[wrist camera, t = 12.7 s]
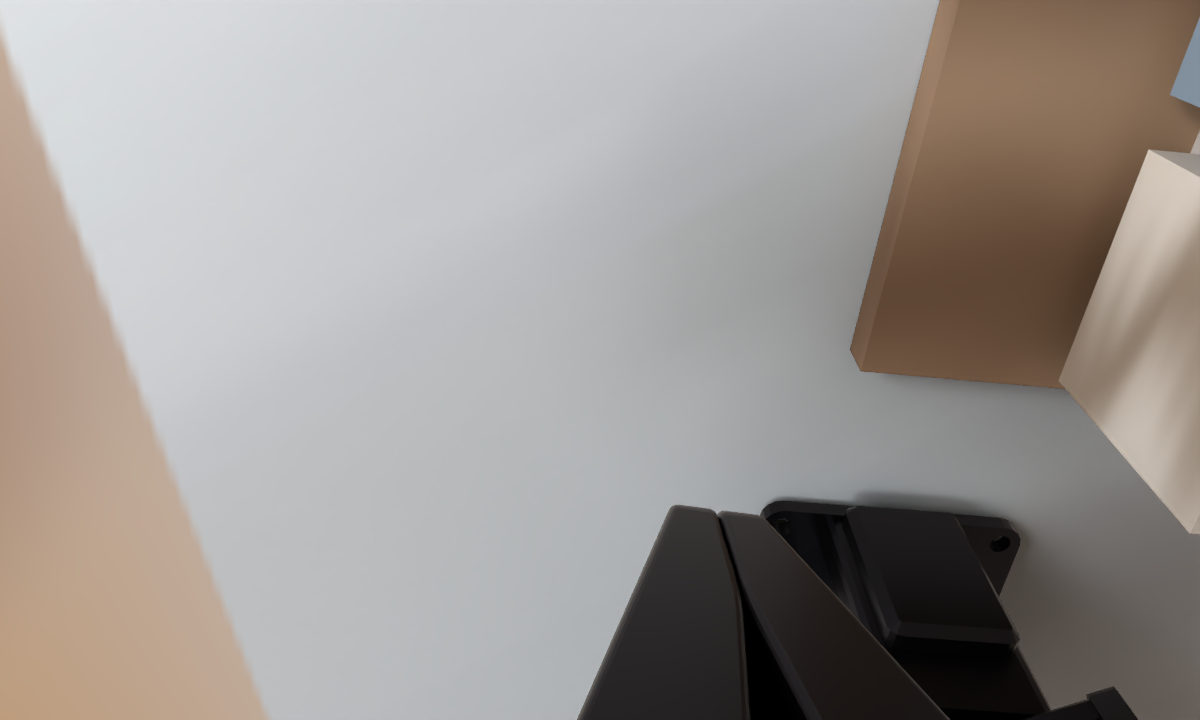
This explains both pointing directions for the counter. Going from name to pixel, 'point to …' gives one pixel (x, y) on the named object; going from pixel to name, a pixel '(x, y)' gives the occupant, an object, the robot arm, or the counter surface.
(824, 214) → the counter surface
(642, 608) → the robot arm
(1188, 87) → the block
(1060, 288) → the wooden block holder
